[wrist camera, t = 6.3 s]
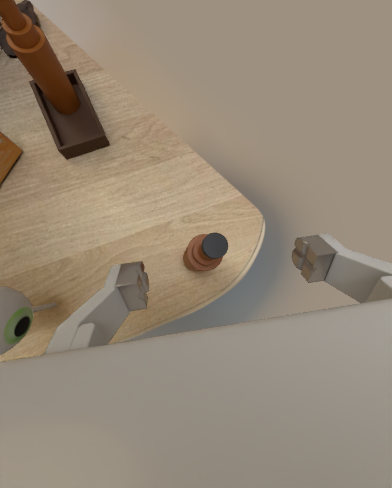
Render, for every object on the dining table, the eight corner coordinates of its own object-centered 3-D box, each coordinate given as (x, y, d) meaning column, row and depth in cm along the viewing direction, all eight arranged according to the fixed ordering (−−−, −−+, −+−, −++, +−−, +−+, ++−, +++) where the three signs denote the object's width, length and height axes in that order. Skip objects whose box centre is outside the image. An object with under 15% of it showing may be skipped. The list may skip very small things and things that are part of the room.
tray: (110, 145, 36) (105, 135, 33) (66, 159, 35) (58, 150, 32) (81, 83, 37) (75, 69, 34) (39, 94, 36) (28, 81, 33)
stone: (-1, 56, 37) (27, 65, 37) (-13, 42, 34) (17, 52, 35) (19, 5, 37) (46, 15, 38) (8, -12, 35) (37, -1, 36)
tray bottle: (66, 119, 35) (-21, -7, 19) (47, 102, 35) (-56, -37, 19) (85, 103, 36) (17, -30, 20) (66, 87, 36) (-17, -59, 20)
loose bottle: (198, 277, 34) (219, 279, 18) (177, 259, 34) (181, 248, 18) (214, 256, 35) (248, 242, 19) (194, 240, 35) (211, 212, 19)
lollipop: (73, 330, 31) (-19, 382, 16) (24, 326, 30) (-119, 376, 15) (82, 283, 32) (5, 292, 17) (36, 278, 31) (-88, 283, 16)
